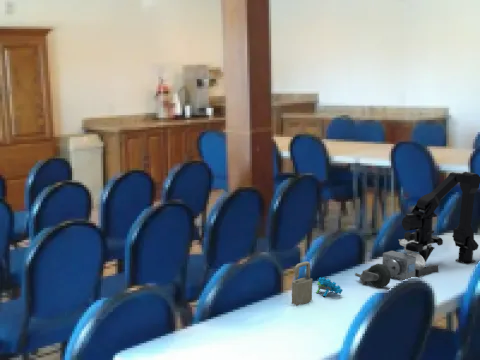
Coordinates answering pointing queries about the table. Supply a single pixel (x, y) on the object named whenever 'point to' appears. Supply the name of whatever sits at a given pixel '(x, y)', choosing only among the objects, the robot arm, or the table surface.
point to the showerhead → (403, 243)
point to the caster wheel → (375, 275)
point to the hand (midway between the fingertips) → (423, 263)
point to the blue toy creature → (328, 286)
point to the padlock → (302, 286)
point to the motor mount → (405, 266)
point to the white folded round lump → (418, 260)
